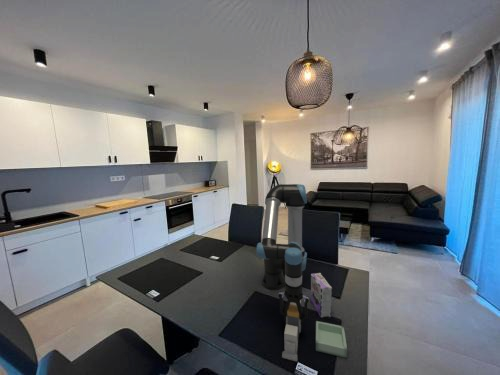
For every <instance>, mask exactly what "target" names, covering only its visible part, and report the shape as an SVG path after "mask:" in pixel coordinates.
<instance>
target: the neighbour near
mask: <svg viewBox="0 0 500 375" xmlns="http://www.w3.org/2000/svg"><path fill="white" fill-rule="evenodd" d="M283 334H284V335H283V336H284V337H283V338H284V341H283V342H284V347H283V348H284V350H283V351H285V341H288V342H292V343H295V354H296V355H297V356H298V348H299V346H298V345H299V344H298V343H299V338H298V327H297V326H292V325H287V324H286V323H285V328H284V333H283Z"/></svg>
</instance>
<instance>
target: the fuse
mask: <svg viewBox="0 0 500 375" xmlns="http://www.w3.org/2000/svg"><path fill="white" fill-rule="evenodd" d="M288 324H289V325H293V326H297V327H298V339H299V336H300V332H299V311H298V308H297V306H296V305H291V304H290V305H289V308H288V311H287V325H288Z"/></svg>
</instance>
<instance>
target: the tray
mask: <svg viewBox="0 0 500 375" xmlns="http://www.w3.org/2000/svg"><path fill="white" fill-rule="evenodd" d="M347 346H348V345H347V339H346V333H345V326H343V325H339V324H334V323H329V322H324V321H318V320H316V321H315V351H316V352H320V353H324V354H328V355H333V356H336V357H339V358H345V359H347V358H348V347H347Z"/></svg>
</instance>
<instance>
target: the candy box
mask: <svg viewBox="0 0 500 375" xmlns="http://www.w3.org/2000/svg"><path fill="white" fill-rule="evenodd" d="M332 290H333V287H332V285H330V283H329V282H328V280H326V278H325V277H324V276H323V274H322V273H321V272H315V273H314V272H313V273H311V274H310V301H311V303H312V305H313V307H314V309H315V310H316V312H317V314H318V316H319V317H320V318H331V317H332V294H333V293H332V292H333V291H332Z"/></svg>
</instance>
